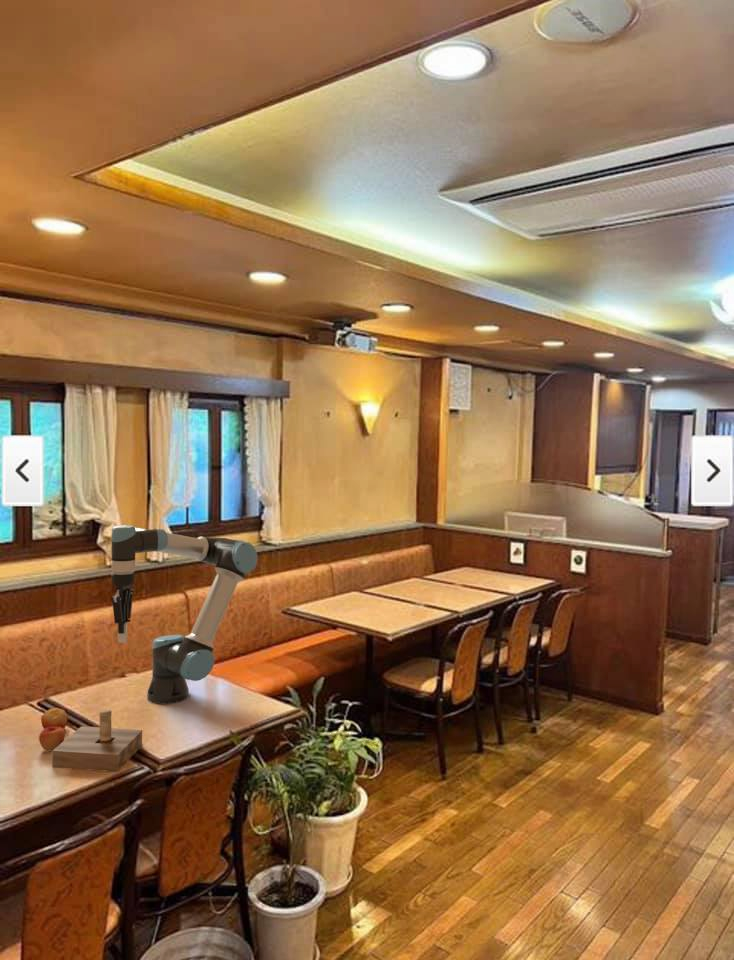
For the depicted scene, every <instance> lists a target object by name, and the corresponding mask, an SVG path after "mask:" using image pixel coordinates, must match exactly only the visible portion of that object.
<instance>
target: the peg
mask: <svg viewBox="0 0 734 960" xmlns="http://www.w3.org/2000/svg"><path fill="white" fill-rule="evenodd" d="M112 712H113V711H112V710H111V709H102V710H100V711H99V727H100V739H99V743H101V744H110V743H111V740H112V738H111V728H112V715H113V714H112Z"/></svg>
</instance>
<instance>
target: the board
mask: <svg viewBox="0 0 734 960" xmlns="http://www.w3.org/2000/svg"><path fill="white" fill-rule="evenodd" d="M111 738H112V740H111V743H110V744H101V743H99V739H100V726H99V727H98V726H85V725H84V726H83V725H82V726H80V727H79V728H78V729H77V730H76V731H74V732H73V733H72V734H71V735H70V736H68V737H67V738H66V739H64V741H63V742H62V743H61V744H60V745H59V746H57V747H56V748H55V749H54V750H51V751H52V753H51V754H52V755H51V757H52V758H51V760H52V762H51V767H52V768H56V769H57V768H58V769H71V768H74V770H86V769H91V770H90V771H101V770H106V772H116V773H118V772H119V771H121V769H122V768H123V767H124V766H125V764H126V763H128V761H129V760H130V759H131V758H132V757H133V756H134V755H135V754H136V753H137V752H138V751H139V749H140V748H141V747H142V746H143V729H134V728H133V729H131V728H129V729H128V728H118V727H117V728H115V727H111ZM75 768H77V769H75Z"/></svg>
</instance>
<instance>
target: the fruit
mask: <svg viewBox="0 0 734 960" xmlns="http://www.w3.org/2000/svg"><path fill="white" fill-rule="evenodd" d="M68 717H69V716H68V714H67V712H66V711H65V710H64V709H62V708H58V707H52V708H50V709H48V710H46V711H45V712H44V713H43V714H42V715H41V718H40V719H41V721H40V722H41V725H42V728H43V730H44V729H45V728H47V725H48V727H61V728H63V729H64V730H65V728H66V727H67V725H68Z"/></svg>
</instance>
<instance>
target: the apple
mask: <svg viewBox="0 0 734 960" xmlns="http://www.w3.org/2000/svg"><path fill="white" fill-rule="evenodd" d="M65 738H66V732H65V728H64V729H63V728H61V727H48V725H47V728H45V729H44V728H43V730H41V731H40V733H39V738H38V740H39V743H40V746H41V748H42V749H43V750H45V751H46V752H49V751H53V750H54V749H55V748H56V747H57V746H59V745H60V744H61V743H62V742H63V741H65V740H66V739H65Z"/></svg>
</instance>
